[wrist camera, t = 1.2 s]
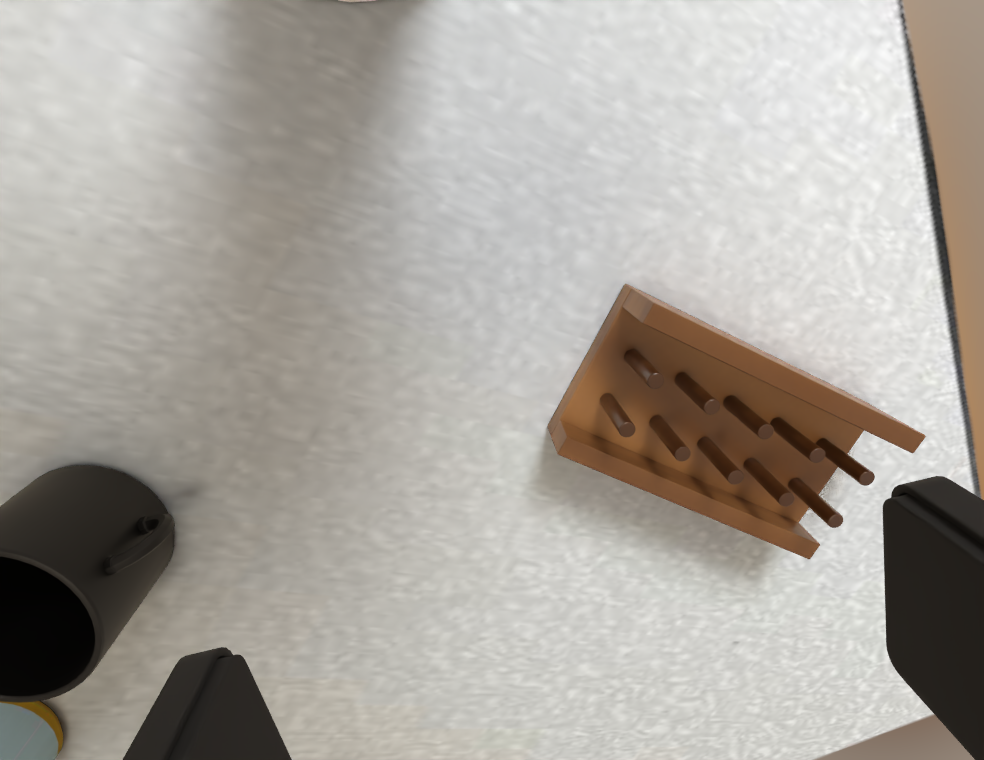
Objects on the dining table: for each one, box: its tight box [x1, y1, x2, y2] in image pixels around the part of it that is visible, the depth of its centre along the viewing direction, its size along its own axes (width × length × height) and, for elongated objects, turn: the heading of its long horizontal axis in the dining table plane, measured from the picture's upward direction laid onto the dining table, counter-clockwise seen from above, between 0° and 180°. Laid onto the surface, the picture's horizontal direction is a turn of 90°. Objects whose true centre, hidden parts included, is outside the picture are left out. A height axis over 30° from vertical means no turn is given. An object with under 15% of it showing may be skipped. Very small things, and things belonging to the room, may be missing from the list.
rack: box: [548, 284, 925, 559], centre depth 36 cm, size 10×18×6 cm, turn 64°
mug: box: [0, 465, 175, 702], centre depth 35 cm, size 9×12×9 cm
